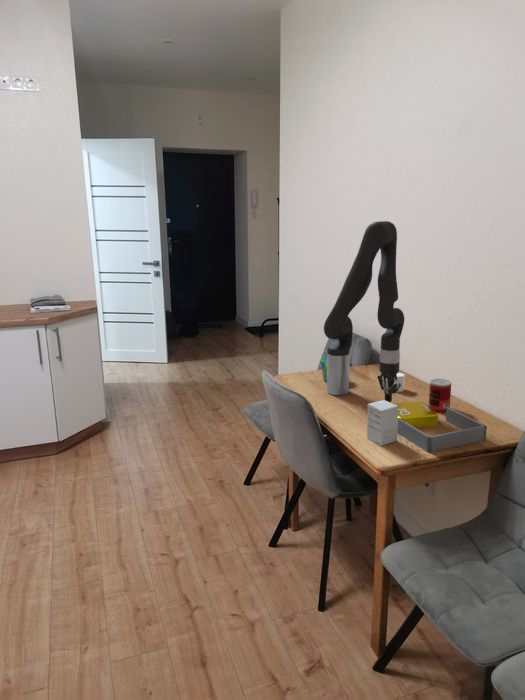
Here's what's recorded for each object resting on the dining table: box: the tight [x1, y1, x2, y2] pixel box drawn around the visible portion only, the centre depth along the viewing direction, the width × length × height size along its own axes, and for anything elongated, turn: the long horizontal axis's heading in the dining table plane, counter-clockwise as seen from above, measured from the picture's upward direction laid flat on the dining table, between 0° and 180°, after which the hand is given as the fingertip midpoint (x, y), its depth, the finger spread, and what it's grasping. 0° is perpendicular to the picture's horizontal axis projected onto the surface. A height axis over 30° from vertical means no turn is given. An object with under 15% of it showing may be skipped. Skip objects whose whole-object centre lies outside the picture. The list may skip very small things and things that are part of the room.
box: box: [397, 407, 488, 453], centre depth 177 cm, size 18×23×5 cm
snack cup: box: [319, 356, 327, 383], centre depth 236 cm, size 16×10×10 cm
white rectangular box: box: [366, 399, 398, 446], centre depth 174 cm, size 7×7×13 cm
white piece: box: [396, 371, 406, 393], centre depth 222 cm, size 7×7×7 cm
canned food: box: [428, 378, 452, 413], centre depth 199 cm, size 8×8×11 cm
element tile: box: [391, 400, 439, 428], centre depth 191 cm, size 15×15×5 cm
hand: (388, 402), depth 205 cm, fingers closed
